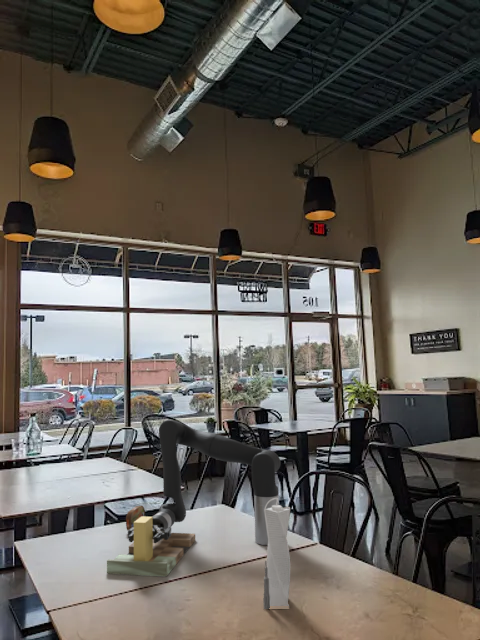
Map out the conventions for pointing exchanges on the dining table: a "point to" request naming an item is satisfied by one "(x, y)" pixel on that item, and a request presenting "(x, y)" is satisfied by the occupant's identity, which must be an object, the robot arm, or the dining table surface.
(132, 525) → the tin
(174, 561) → the board
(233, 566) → the dining table surface
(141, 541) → the block
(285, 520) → the skyscraper
